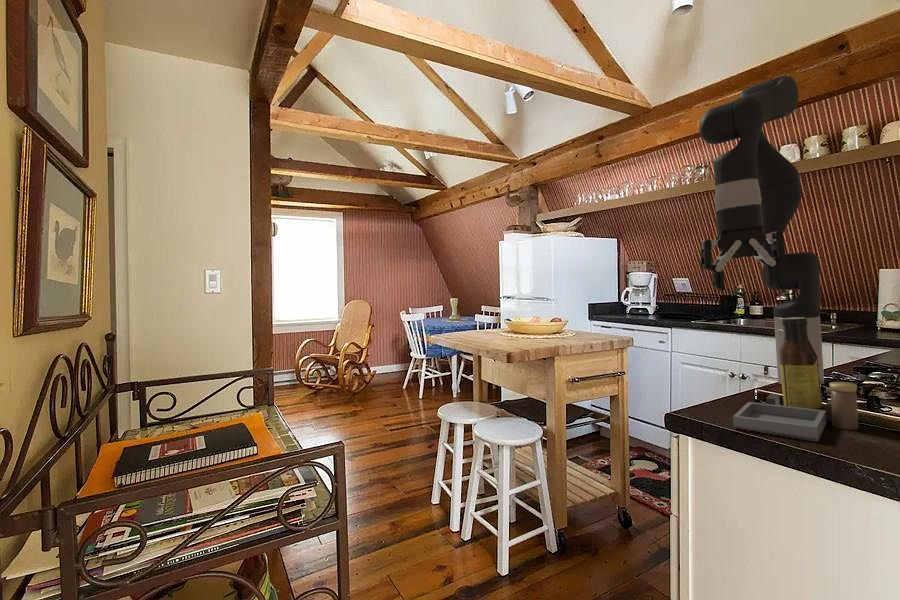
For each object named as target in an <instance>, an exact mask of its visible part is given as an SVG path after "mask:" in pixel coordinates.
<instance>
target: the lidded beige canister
mask: <svg viewBox="0 0 900 600" xmlns="http://www.w3.org/2000/svg"><path fill="white" fill-rule="evenodd" d="M828 385H829V390H830V391H829V392H830V400H831V407H832V421H831V422H832V426H833V428H836V429H842V430H847V431H849V430H850V431H852V430H853V431H854V430H858V429H859V417H858V416H859V415H858V399H857V398H858V397H857V391H858V384H857V383H854V382H847V381H831V382H829V383H828Z"/></svg>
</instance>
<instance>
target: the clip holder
mask: <svg viewBox="0 0 900 600" xmlns="http://www.w3.org/2000/svg"><path fill="white" fill-rule="evenodd" d="M765 401H766V404H771V405H780V406H781V404H780V403H781V402H780V394H776V393H775V394H774V393H770V394H769V395H768V396H767V397H766V400H765ZM825 409H826V410H825V411H826V421H829V422H832V407H831V399H828V400H827V403H826V404H825Z"/></svg>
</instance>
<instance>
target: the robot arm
mask: <svg viewBox="0 0 900 600" xmlns="http://www.w3.org/2000/svg"><path fill="white" fill-rule="evenodd" d="M799 96H800V95H799V89H798V85H797V83H796V80H795V79H794V78H793V77H792V76H790V75H781V76H777V77H774V78H771V79H769V80H767V81H766V80H765V81H763V82H760V83H758V84H754V85H752V86H749V87H747V88H745V89H742V90H741V92H740V94H739V97H738V98H737V99H735V100H733V101H731V102H727V103H725V104H721V105H718V106H716V107H711V108H710V109H708V110H707V111H706V112H704V114H703V116H701V119H700V122H699V133H700V137H701V138H702V139H703V141H704V142H705V143H708V144H709V145H718V144H723V143H726V142H730V141H733V140H738V139H739V141H738V142H737V144H736V146H735V147H734V148H732V149H730V150H728V151H727V152H725V153H722V154H720V155H718V156H717V157H716V158H714V161H713V175H714V186H715V187H714V191H715V193H714V205H715V217H716V218H715V219H716V220H715V221H716V231H717V237H716V239H703V240H701V241H700V246H699V247H700V269H701V270H705V271H709V272H711V274H712V275H711V276H712V285H713V287H714V289H716V290H717V291H719V292H721V291H723V292H724V291H725V290H726V288H725V277H724V273H725V272H724V271H722V270H723V269H724V268H725V266H726V264H727V263H728V262H730V261H731V259H740V258H749V257H753V258H754V259H756V260H758V261H759V262H760V263H761V265H762V267H761V269H762V277H763V278H762V280H763V282H762V283H763V286H764V287H767V288H768V289H769V290H770V291H771V290H772V291H791V290H793V291H794V290H795V291H797V290H799V293H798V296H796V297H795V298H793V299H791V300H789V301H786V302H783V303H780V304H777V305H775V306H774V307H773V322H774V337H775V353H776V354H775V355H776V369H777V370H776V371H777V382H778V384H780V385H782V381H781V370H780V355H779V352H780V351H779V350H780V348H781V346H782V345H783V343H784V341H785V338H784V336H785V333H784V326H783V324H782V319H783V318H789V317H805V318H807V325H806V326H807V327H806V328H807V336H808V339H809V341H810V343H811V345H812V347H813V349H814V351H815V353H816V355H817V357H818V367H819V377H820V385H821V384H824V385H825V376H824V374H825V373H824V372H825V371H824V358H823V357H824V356H823V340H822V327H821V310H820V309H821V305H820V304H821V301H820V300H821V299H820V298H821V297H820V279H821V278H820V277H821V276H820V273H821V272H820V262H819V259H818V256H817V254H815V253H814V252H811V251H805V252H803V251H802V252H793V253H786V246H785V239H784V232H785V231H786V228H787V226H788V225H789V223H790V222H791V220H792V219H793V217H794V215H795V214H796V212H797V210H798V208H799V206H800V204H801V202H802V187H801V180H800V173H799V171H798V169H797V168H796V166H794V164H793V163H792V162H791V161H790V160H788V159H787V158H786V157H785V156H784V155H783V154H782V153H780V152H779V151H778V150H777V149H776V147H774V146H773V145H772V143H770V141H769V140H768V138H767V137H766V134H765V133H764V130H763V126H764V124H766V123H769V122H772V121H776V120H779V119H782V118H785V117H787V116H789V115H791V114H792V113H794V112H795V111H796V110H797V108H798V104H799V99H800V97H799ZM716 246H717V247H718V248H719V249H720V250H721V251H720V252H719V254H718V255H717V257H716V259H715V261H714V263H713V261H712V260H713V257H712V255H713V254H712V252H713V250H715V247H716Z"/></svg>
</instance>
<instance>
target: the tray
mask: <svg viewBox="0 0 900 600" xmlns="http://www.w3.org/2000/svg"><path fill="white" fill-rule="evenodd" d="M732 423H733V424H732V425H733V428H734V427H736V428H742V429H748V430H752V431H758V432H763V433H769V434H774V435H773V436H775V435H780V436H779V437H782V436H785V437H784V438H789V437H791V439H795V438H796V440H803V441H809V442H817V443H818V442H819V439H820V438H821V436H822V434H823V433H824V429H825V427H826V425H827V423H828V422H827V410H824V409H822V410H816V409H807V408H798V407H789V406H784V405H781V404H780V405H771V404H767V403H761V402H752V401H748V402H747V403H746V404H745V405H743V406H742V407H741V408H740V409H739V410H738V411H737V412H736V413H735V414H733V416H732ZM769 434H768V435H769Z"/></svg>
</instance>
